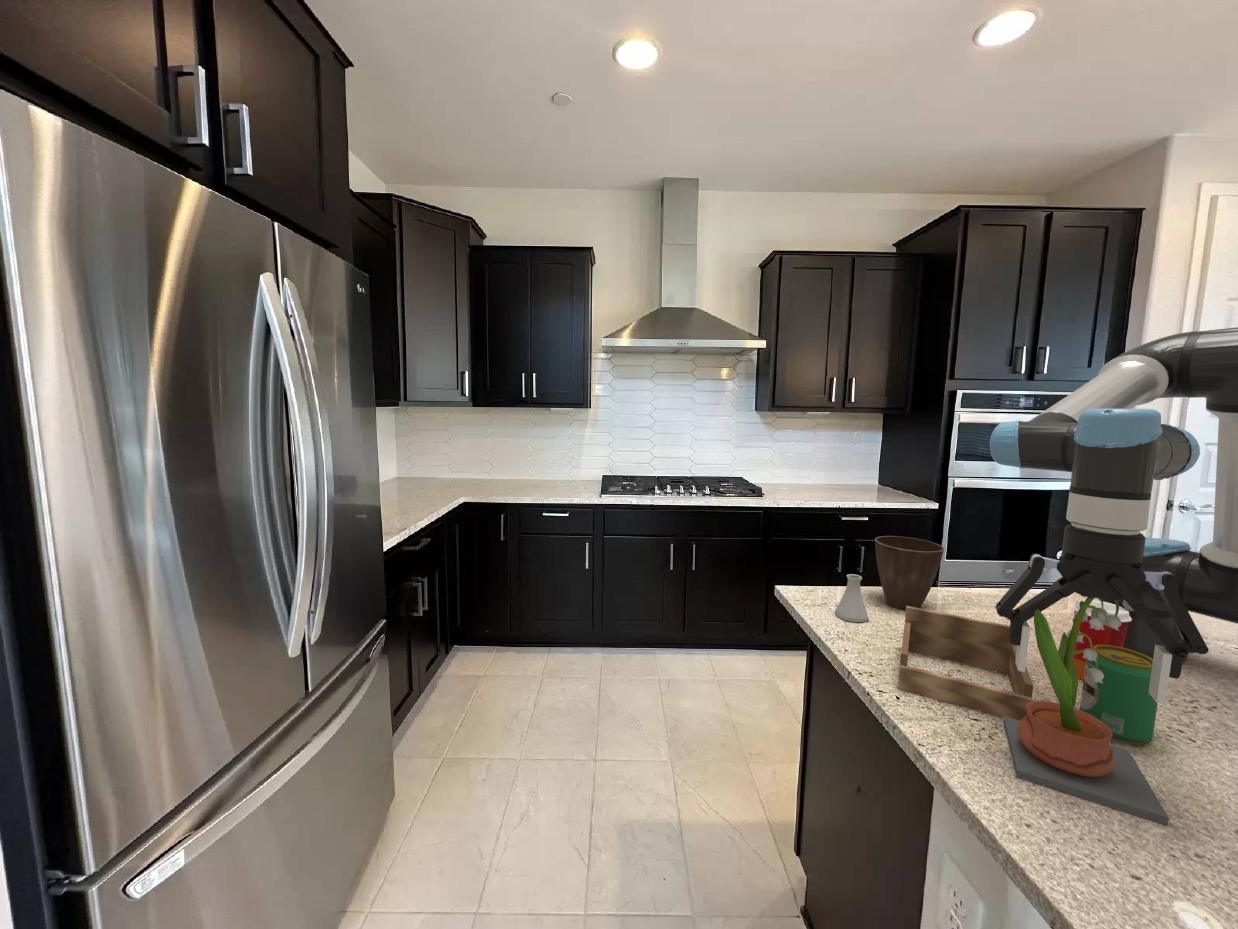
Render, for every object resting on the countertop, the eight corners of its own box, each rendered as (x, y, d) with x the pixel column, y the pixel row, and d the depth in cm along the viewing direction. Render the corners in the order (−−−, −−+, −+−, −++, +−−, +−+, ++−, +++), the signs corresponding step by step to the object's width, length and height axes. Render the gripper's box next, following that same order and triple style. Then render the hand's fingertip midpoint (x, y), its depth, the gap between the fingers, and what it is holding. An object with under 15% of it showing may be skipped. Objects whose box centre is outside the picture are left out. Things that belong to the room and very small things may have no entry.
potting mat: (1127, 756, 70) (1128, 750, 70) (1167, 825, 58) (1168, 818, 58) (1003, 722, 77) (1003, 716, 77) (1016, 777, 65) (1017, 770, 65)
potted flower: (1080, 735, 72) (1101, 571, 70) (1152, 787, 62) (1180, 597, 60) (998, 732, 73) (1016, 569, 70) (1056, 783, 63) (1080, 595, 60)
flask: (829, 611, 120) (831, 571, 118) (857, 610, 120) (860, 571, 119) (844, 624, 112) (847, 581, 111) (875, 623, 113) (878, 581, 112)
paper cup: (1106, 672, 93) (1115, 601, 91) (1133, 694, 85) (1143, 617, 84) (1055, 665, 95) (1063, 595, 94) (1077, 685, 88) (1086, 610, 86)
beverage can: (1072, 707, 81) (1080, 638, 80) (1139, 724, 77) (1149, 651, 76) (1087, 734, 74) (1097, 659, 73) (1162, 754, 70) (1173, 674, 69)
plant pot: (881, 589, 135) (886, 532, 133) (945, 605, 124) (950, 544, 123) (861, 603, 124) (866, 542, 123) (929, 622, 114) (935, 555, 112)
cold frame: (1013, 674, 92) (1018, 627, 91) (1030, 724, 76) (1036, 670, 75) (902, 647, 101) (906, 605, 100) (897, 688, 86) (902, 639, 85)
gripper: (1233, 536, 60) (1208, 698, 63) (982, 511, 74) (969, 646, 76) (1269, 550, 54) (1239, 730, 56) (987, 520, 67) (973, 667, 70)
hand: (1084, 682), depth 66 cm, fingers open, 13 cm apart
